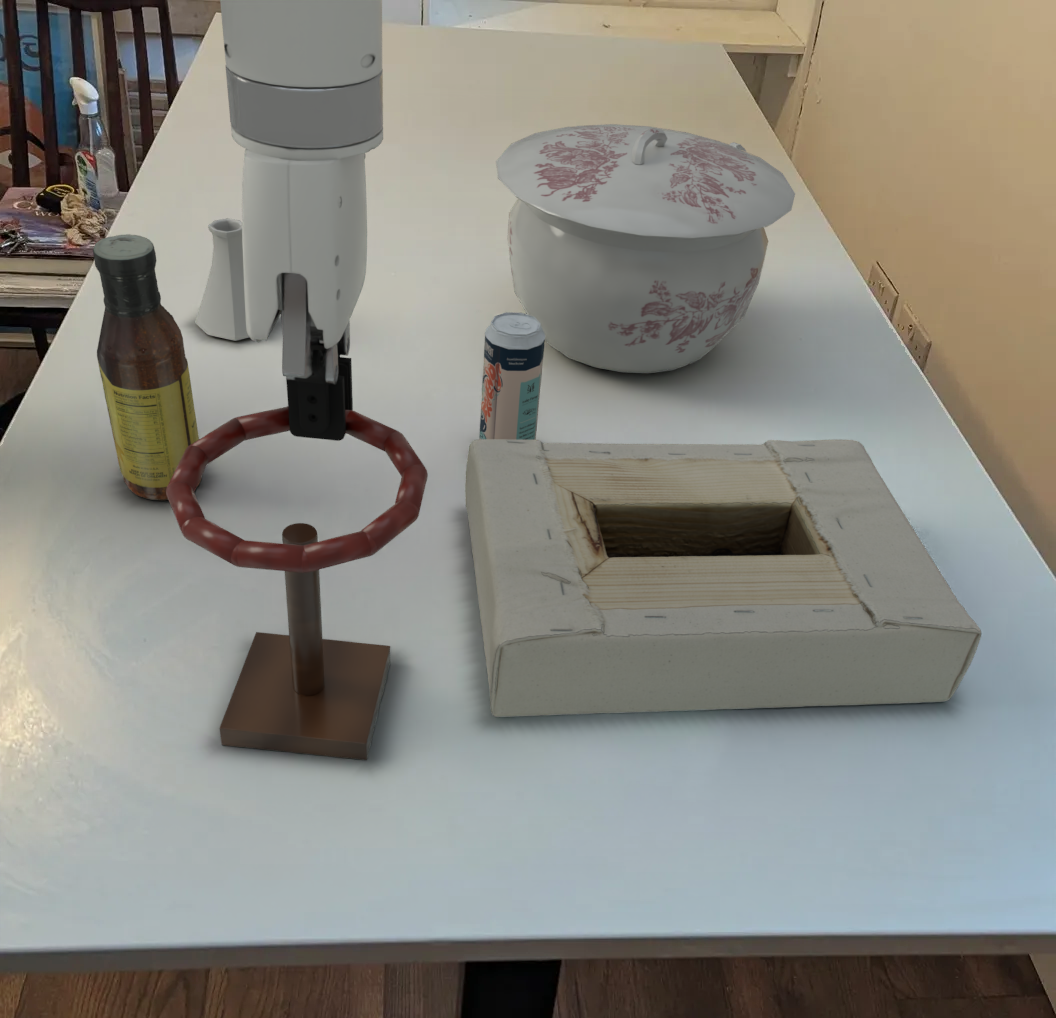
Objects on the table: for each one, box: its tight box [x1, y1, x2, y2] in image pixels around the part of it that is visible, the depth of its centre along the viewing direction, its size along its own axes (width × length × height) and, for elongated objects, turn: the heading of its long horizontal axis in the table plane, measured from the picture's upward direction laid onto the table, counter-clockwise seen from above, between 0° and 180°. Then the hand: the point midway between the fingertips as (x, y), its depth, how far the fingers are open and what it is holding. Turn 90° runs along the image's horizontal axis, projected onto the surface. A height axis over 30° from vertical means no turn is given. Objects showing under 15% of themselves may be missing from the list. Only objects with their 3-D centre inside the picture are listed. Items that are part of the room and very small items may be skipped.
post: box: [218, 522, 391, 761], centre depth 72 cm, size 9×9×14 cm
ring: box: [166, 405, 429, 573], centre depth 65 cm, size 14×14×1 cm
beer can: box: [478, 311, 546, 440], centre depth 97 cm, size 5×5×12 cm
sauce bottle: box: [92, 233, 202, 501], centre depth 87 cm, size 6×6×20 cm
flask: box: [194, 217, 250, 342], centre depth 112 cm, size 7×7×10 cm
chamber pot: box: [495, 123, 796, 374], centre depth 112 cm, size 28×28×21 cm
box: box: [464, 438, 982, 718], centre depth 84 cm, size 23×8×32 cm
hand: (321, 425), depth 70 cm, fingers closed on ring, 1 cm apart
